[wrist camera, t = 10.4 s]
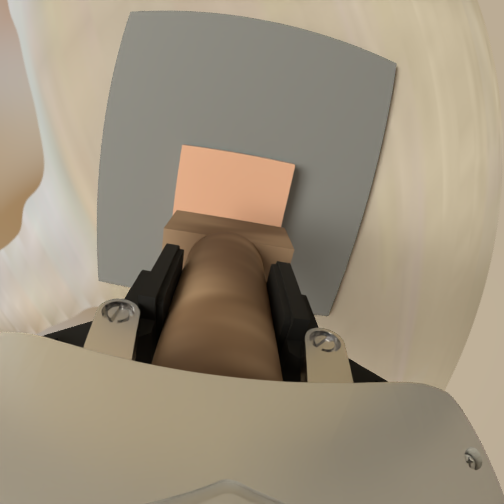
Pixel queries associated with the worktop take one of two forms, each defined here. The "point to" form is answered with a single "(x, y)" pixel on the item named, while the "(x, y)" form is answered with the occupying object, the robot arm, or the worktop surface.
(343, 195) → the mat
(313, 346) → the robot arm
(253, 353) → the wooden rubber stamp
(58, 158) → the worktop surface
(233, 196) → the tile
